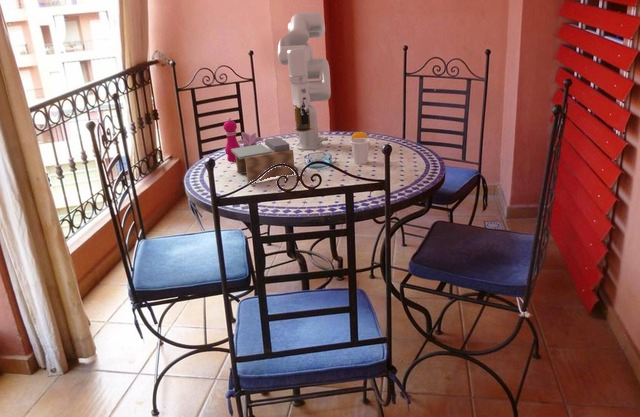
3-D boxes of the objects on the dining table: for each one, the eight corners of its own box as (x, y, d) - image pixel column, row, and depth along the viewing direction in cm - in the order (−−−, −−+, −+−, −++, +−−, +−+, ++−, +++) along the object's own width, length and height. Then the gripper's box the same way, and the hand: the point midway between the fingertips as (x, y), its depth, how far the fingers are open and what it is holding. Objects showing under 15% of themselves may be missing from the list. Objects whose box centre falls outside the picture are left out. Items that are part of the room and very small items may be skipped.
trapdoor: (279, 147, 237) (278, 137, 236) (290, 154, 225) (289, 144, 223) (231, 155, 230) (230, 145, 228) (240, 163, 218) (239, 152, 216)
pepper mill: (239, 162, 251) (233, 119, 244) (224, 162, 253) (218, 119, 245) (244, 157, 258) (239, 115, 250) (229, 157, 259) (224, 115, 252)
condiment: (307, 125, 236) (305, 98, 231) (315, 130, 229) (313, 101, 224) (292, 128, 233) (289, 100, 229) (299, 132, 226) (297, 104, 222)
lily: (268, 150, 270) (264, 132, 271) (256, 147, 259) (252, 128, 260) (248, 157, 274) (244, 139, 276) (235, 154, 264) (231, 135, 265)
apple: (363, 149, 257) (362, 134, 254) (348, 148, 261) (347, 133, 258) (370, 145, 263) (370, 130, 260) (356, 144, 267) (355, 129, 264)
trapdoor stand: (284, 164, 243) (282, 140, 239) (298, 175, 227) (296, 149, 223) (237, 173, 235) (234, 148, 231) (248, 184, 220) (245, 158, 216)
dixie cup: (360, 158, 244) (359, 136, 240) (374, 161, 238) (373, 139, 234) (347, 163, 238) (346, 141, 235) (361, 166, 233) (360, 143, 229)
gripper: (315, 81, 217) (318, 125, 225) (299, 75, 232) (302, 117, 239) (297, 83, 215) (301, 128, 222) (283, 77, 230) (286, 119, 237)
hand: (301, 122), depth 231 cm, fingers closed on condiment, 6 cm apart
